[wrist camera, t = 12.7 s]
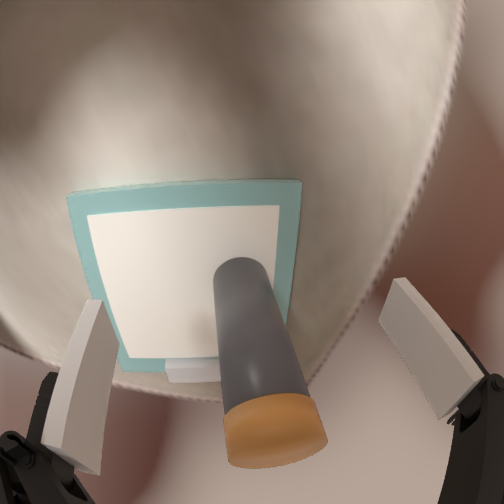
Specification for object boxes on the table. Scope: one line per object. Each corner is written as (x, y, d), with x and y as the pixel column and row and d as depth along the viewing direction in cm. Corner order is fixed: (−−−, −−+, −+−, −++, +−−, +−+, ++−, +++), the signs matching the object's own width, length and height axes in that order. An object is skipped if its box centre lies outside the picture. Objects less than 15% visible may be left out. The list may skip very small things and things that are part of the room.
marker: (209, 257, 19) (225, 444, 8) (269, 253, 20) (339, 425, 8) (213, 305, 21) (230, 472, 10) (267, 300, 22) (316, 458, 10)
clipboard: (72, 192, 16) (58, 202, 14) (298, 179, 19) (308, 188, 17) (125, 365, 25) (121, 381, 23) (277, 358, 27) (282, 375, 25)
